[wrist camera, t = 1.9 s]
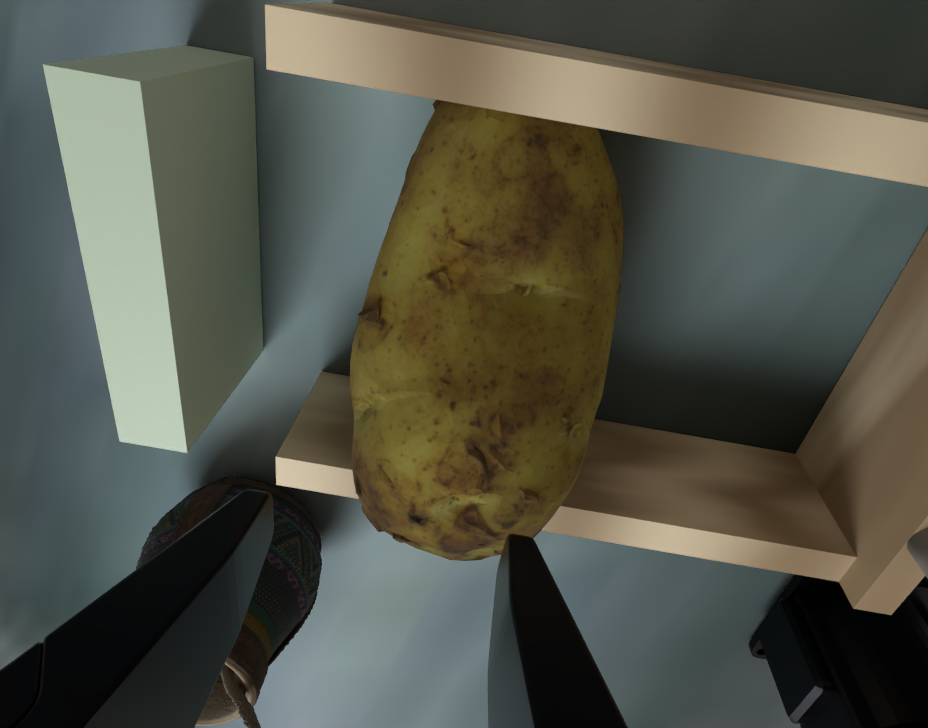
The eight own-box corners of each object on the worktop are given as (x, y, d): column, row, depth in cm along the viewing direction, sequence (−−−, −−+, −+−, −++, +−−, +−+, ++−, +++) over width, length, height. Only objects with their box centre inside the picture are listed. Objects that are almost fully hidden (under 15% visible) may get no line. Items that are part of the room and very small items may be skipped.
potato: (728, 164, 17) (859, 270, 11) (515, 456, 24) (512, 638, 17) (476, 18, 16) (443, 32, 9) (322, 370, 22) (235, 530, 16)
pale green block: (253, 57, 17) (140, 81, 12) (263, 350, 22) (187, 453, 17) (169, 42, 17) (20, 60, 12) (199, 339, 22) (104, 438, 17)
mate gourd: (152, 464, 26) (-22, 687, 18) (313, 444, 25) (208, 673, 16) (219, 574, 30) (101, 803, 21) (362, 561, 28) (298, 799, 20)
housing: (1033, 128, 16) (1392, 219, 10) (811, 481, 24) (928, 677, 17) (332, 3, 16) (195, 5, 10) (320, 396, 23) (238, 559, 17)
